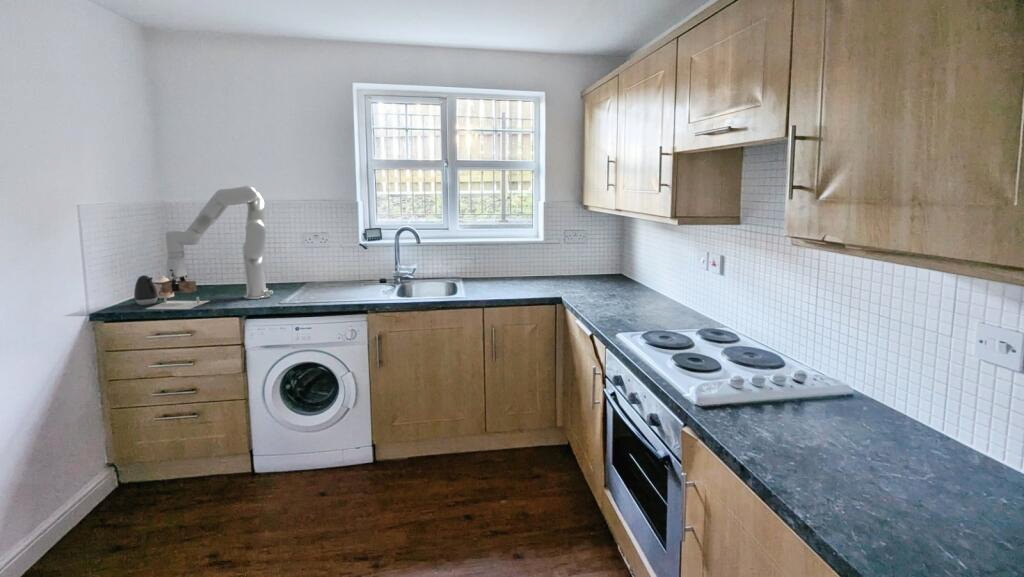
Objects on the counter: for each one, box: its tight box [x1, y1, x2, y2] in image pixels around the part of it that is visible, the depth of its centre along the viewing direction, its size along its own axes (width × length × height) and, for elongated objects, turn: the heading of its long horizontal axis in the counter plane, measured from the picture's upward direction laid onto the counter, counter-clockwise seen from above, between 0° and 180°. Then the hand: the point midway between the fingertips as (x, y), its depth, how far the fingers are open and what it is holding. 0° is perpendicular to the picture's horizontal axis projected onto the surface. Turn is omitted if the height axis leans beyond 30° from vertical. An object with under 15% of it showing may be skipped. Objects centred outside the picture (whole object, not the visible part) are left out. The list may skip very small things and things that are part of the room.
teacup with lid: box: [153, 275, 175, 300], centre depth 303 cm, size 12×9×12 cm
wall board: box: [145, 296, 210, 310], centre depth 282 cm, size 22×19×4 cm
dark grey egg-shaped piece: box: [133, 274, 158, 306], centre depth 284 cm, size 10×10×15 cm
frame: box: [162, 280, 197, 294], centre depth 285 cm, size 14×6×5 cm, turn 90°
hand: (179, 289), depth 285 cm, fingers closed on frame, 6 cm apart
